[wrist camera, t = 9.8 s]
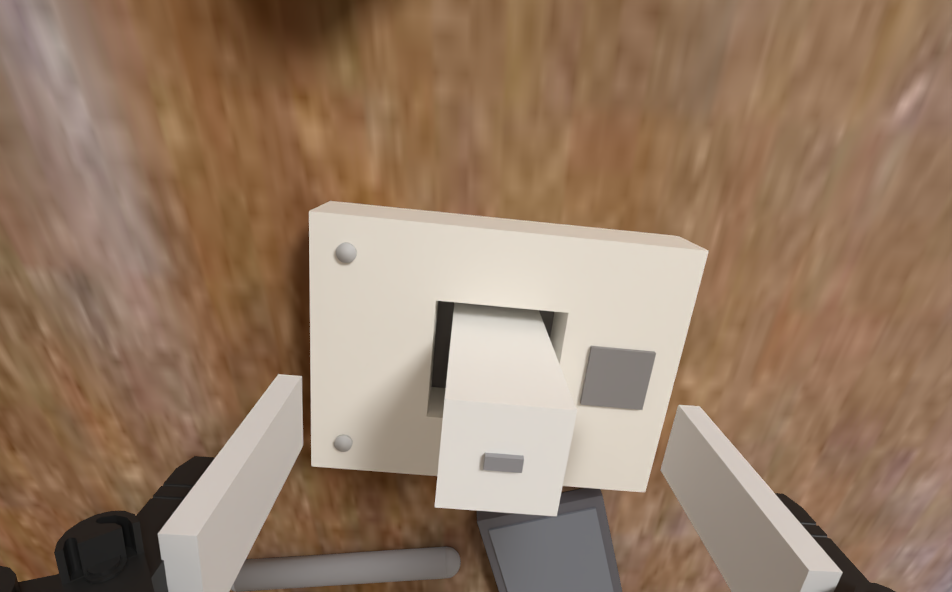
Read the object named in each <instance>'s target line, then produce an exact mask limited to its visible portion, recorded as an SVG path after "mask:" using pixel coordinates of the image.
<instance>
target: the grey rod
mask: <svg viewBox="0 0 952 592" xmlns="http://www.w3.org/2000/svg"><path fill="white" fill-rule="evenodd" d="M460 562H461V561H460V556H459V554H458V552H457V551H456V550H455V549H454V548H452V547H432V548H417V549H401V550H386V551H370V552H355V553H339V554H324V555H308V556H293V557H277V558H262V559H247V560H245V561H244V563H243V565H242V567H241V569H240V571H239V573H238V575H237V577H236V579H235V581H234V583H233V585H232V587H231V589H230V590H232V591H237V592H239V591H255V590H270V589H286V588H302V587H317V586H333V585H349V584H365V583H380V582H396V581H412V580H427V579H443V578H450V577H453V576H454V575H455V574H456V573H457V572H458V570H459V568H460Z"/></svg>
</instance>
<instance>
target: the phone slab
mask: <svg viewBox="0 0 952 592" xmlns="http://www.w3.org/2000/svg"><path fill="white" fill-rule="evenodd" d="M477 523H478V527H479V530H480V533H481V536H482V539H483V542H484V545H485V549H486V552H487V555H488V558H489V561H490V564H491V568H492V571H493V574H494V577H495V580H496V583H497V586H498V590H499V592H622V588H621V583H620V579H619V574H618V569H617V564H616V559H615V554H614V549H613V545H612V540H611V535H610V530H609V525H608V520H607V516H606V511H605V506H604V501H603V496H602V493H601V490H600V489H596V488H582V489H578V490H573V491H568V492H563V493H561V497H560V502H559V507H558V512H557V517H556V516H543V515H530V514H516V513H503V512H490V511H477Z"/></svg>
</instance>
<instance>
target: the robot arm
mask: <svg viewBox="0 0 952 592" xmlns="http://www.w3.org/2000/svg"><path fill="white" fill-rule="evenodd" d="M302 447H303V408H302V376H295V375H281V374H278V376H277V377H276V378H275V380H274V381H273V382H272V383H271V385H270V386H269V387H268V389H267V390H266V391H265V393H264V394H263V395H262V397H261V398H260V399H259V401H258V402H257V403H256V405H255V406H254V407H253V409H252V410H251V411H250V413H249V414H248V415H247V416H246V418H245V419H244V420H243V422H242V423H241V424H240V426H239V427H238V428H237V430H236V431H235V432H234V434H233V435H232V436H231V438H230V439H229V440H228V442H227V443H226V444H225V446H224V447H223V448H222V450H221V451H220V452H219V453H218V455H217V456H216V457H215V458H213V457H198V456H195V457H193V458H192V459H190V460H189V461H187V462H186V463H184V464H182V465H181V466H179V467H178V468H176V469H175V471H174V472H173V473H172V474H171V475H170V477H169V478H168V479H167V480H166V481H165V482H164V485H163V486H161V487H160V488H159V489H158V491H157V492H156V493H155V494H154V495H153V499H150V500H149V501H148V502H147V504H146V505H145V506H144V507H143V508H142V510H141V511H140V512H139V513H138V514H137V515H136V516H135V514H132V513H129V512H126V511H110V512H105V513H101V514H97V515H94V516H92V517H90V518H87V519H85V520H83V521H81V522H79V523H78V524H76V525H75V526H73V527H72V528H71V529H69V530H68V531H66V532H65V534H64V535H63V536H62V537H61V538H60V539H59V541H58V542H57V545H56V548H55V552H54V553H55V557H56V562H57V566H58V570H59V574H57V575H53V576H47V577H42V578H37V579H32V580H27V581H22V582H18V581H17V577H16V574H15V573H14V572H13V571H12V570H11V569H10V568H8V567H3V566H0V592H229V591H230V589H231V587H232V585H233V583H234V581H235V579H236V577H237V575H238V573H239V571H240V569H241V567H242V565H243V563H244V561H245V560H246V558H247V556H248V554H249V552H250V550H251V548H252V546H253V544H254V542H255V540H256V538H257V536H258V534H259V532H260V530H261V528H262V526H263V524H264V522H265V520H266V518H267V516H268V514H269V512H270V510H271V508H272V506H273V504H274V502H275V500H276V498H277V496H278V494H279V492H280V490H281V488H282V486H283V485H284V483H285V481H286V479H287V477H288V475H289V473H290V471H291V469H292V467H293V465H294V463H295V461H296V459H297V457H298V455H299V453H300V451H301V449H302ZM661 472H662V473H663V475H664V477H665V478H666V480H667V482H668V484H669V485H670V487H671V489H672V490H673V492H674V494H675V496H676V497H677V499H678V501H679V502H680V504H681V506H682V507H683V509H684V511H685V513H686V514H687V516H688V518H689V519H690V521H691V523H692V525H693V526H694V528H695V530H696V531H697V533H698V535H699V537H700V538H701V540H702V542H703V543H704V545H705V547H706V549H707V550H708V552H709V554H710V555H711V557H712V559H713V561H714V562H715V564H716V566H717V567H718V569H719V571H720V572H721V574H722V576H723V578H724V579H725V581H726V583H727V584H728V586H729V588H730V590H731V591H732V592H895V591H893V590H891V589H890V588H887V587H884V586H882V585H879V584H877V583H870V582H869V581H868V580H867V579H866V578H865V577H864V575H863V574H862V573H861V572H860V571H859V570H858V569H857V568H856V567H855V565H854V564H853V563H852V562H851V561H850V560H849V559H848V558H847V557H846V556H845V554H844V553H843V552H842V551H841V550H840V549H839V548H838V547H837V546H836V544H835V543H834V542H833V541H832V540H831V539H830V538H827V534H826V533H825V532H824V531H823V530H822V529H821V528H820V527H819V526H816V522H815V521H814V520H813V519H812V518H811V517H810V516H809V515H808V513H807V512H806V511H805V510H804V509H803V508H802V507H801V506H799V505H798V504H797V503H795V502H794V501H793V500H791V499H790V498H788V497H787V496H786V495H784V494H778V493H774V492H773V491H772V490H771V489H770V487H769V486H768V485H767V484H766V483H765V482H764V480H763V479H762V478H761V477H760V476H759V475H758V473H757V472H756V471H755V470H754V469H753V468H752V467H751V465H750V464H749V463H748V462H747V461H746V460H745V458H744V457H743V456H742V455H741V454H740V453H739V451H738V450H737V449H736V448H735V447H734V446H733V444H732V443H731V442H730V441H729V440H728V439H727V438H726V436H725V435H724V434H723V433H722V432H721V431H720V429H719V428H718V427H717V426H716V425H715V424H714V422H713V421H712V420H711V419H710V418H709V417H708V415H707V414H706V413H705V412H704V411H703V410H702V409H701V407H700V406H687V405H678V408H677V412H676V416H675V419H674V423H673V427H672V430H671V434H670V437H669V441H668V445H667V448H666V452H665V456H664V459H663V463H662V467H661Z"/></svg>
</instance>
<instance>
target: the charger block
mask: <svg viewBox="0 0 952 592" xmlns="http://www.w3.org/2000/svg"><path fill="white" fill-rule="evenodd" d="M576 414H577V408H576V406H575V403H574V401H573V398H572V395H571V393H570V390H569V388H568V385H567V382H566V380H565V377H564V375H563V372H562V369H561V367H560V364H559V362H558V359H557V356H556V354H555V351H554V349H553V346H552V343H551V341H550V338H549V336H548V333H547V330H546V328H545V325H544V323H543V320H542V317H541V315H540V312H539V310H533V309H522V308H511V307H500V306H490V305H479V304H468V303H457V302H454V312H453V321H452V331H451V341H450V351H449V360H448V370H447V380H446V390H445V400H444V410H443V421H442V432H441V443H440V454H439V465H438V476H437V487H436V497H435V507H437V508H450V509H463V510H477V511H490V512H503V513H516V514H530V515H543V516H556V517H557V512H558V507H559V502H560V497H561V492H562V487H563V481H564V476H565V471H566V466H567V461H568V456H569V451H570V445H571V440H572V435H573V430H574V425H575V420H576Z"/></svg>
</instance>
